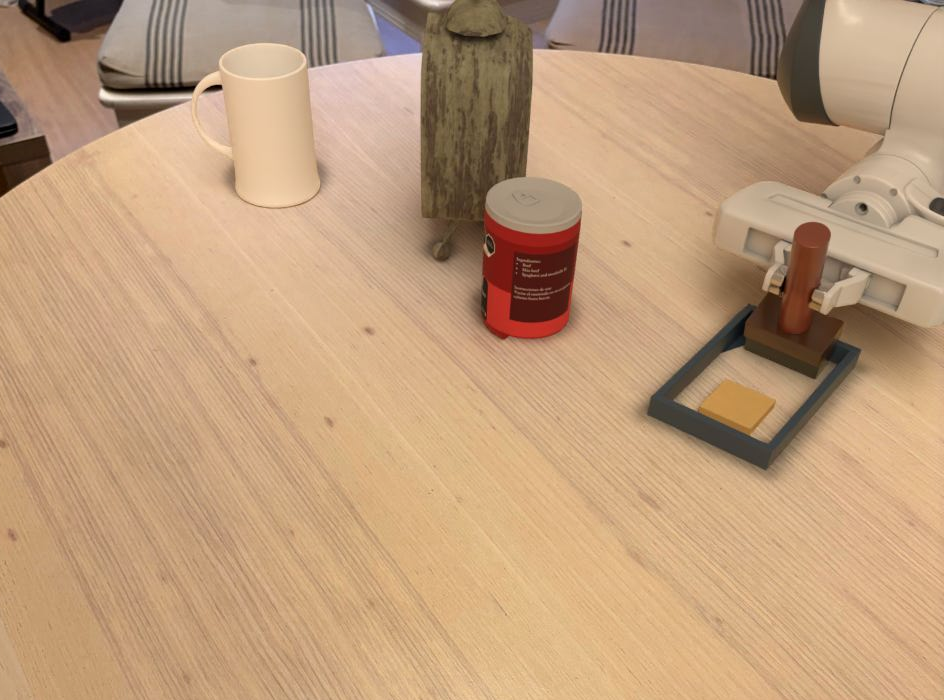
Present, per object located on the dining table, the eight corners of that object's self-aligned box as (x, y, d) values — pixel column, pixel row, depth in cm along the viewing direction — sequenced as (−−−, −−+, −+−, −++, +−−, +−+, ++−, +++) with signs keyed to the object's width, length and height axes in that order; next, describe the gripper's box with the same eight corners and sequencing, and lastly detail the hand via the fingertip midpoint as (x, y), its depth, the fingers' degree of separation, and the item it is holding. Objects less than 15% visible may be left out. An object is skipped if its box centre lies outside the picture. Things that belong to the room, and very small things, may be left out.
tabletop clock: (430, 191, 103) (430, -103, 84) (519, 195, 103) (540, -98, 84) (421, 270, 94) (419, -39, 75) (518, 274, 94) (542, -34, 75)
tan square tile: (723, 388, 83) (725, 377, 82) (773, 410, 82) (776, 399, 81) (696, 415, 81) (699, 405, 80) (747, 439, 79) (750, 428, 78)
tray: (740, 330, 90) (748, 302, 87) (851, 377, 86) (862, 349, 84) (644, 425, 81) (650, 396, 79) (762, 480, 77) (772, 452, 75)
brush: (763, 320, 87) (783, 202, 76) (837, 350, 85) (868, 233, 74) (740, 350, 86) (757, 235, 75) (814, 382, 84) (843, 267, 73)
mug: (193, 200, 101) (168, 72, 92) (219, 159, 106) (198, 34, 97) (308, 212, 100) (296, 84, 91) (329, 170, 106) (319, 45, 96)
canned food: (510, 284, 93) (518, 166, 85) (585, 315, 90) (601, 196, 82) (462, 323, 89) (465, 203, 81) (538, 357, 86) (550, 236, 78)
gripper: (765, 146, 87) (685, 210, 80) (1002, 226, 79) (937, 305, 72) (747, 216, 92) (670, 283, 85) (969, 298, 84) (905, 379, 77)
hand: (795, 294), depth 78 cm, fingers closed on brush, 2 cm apart
